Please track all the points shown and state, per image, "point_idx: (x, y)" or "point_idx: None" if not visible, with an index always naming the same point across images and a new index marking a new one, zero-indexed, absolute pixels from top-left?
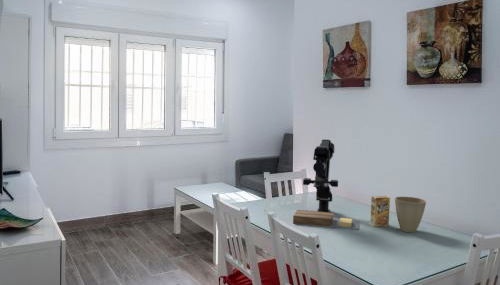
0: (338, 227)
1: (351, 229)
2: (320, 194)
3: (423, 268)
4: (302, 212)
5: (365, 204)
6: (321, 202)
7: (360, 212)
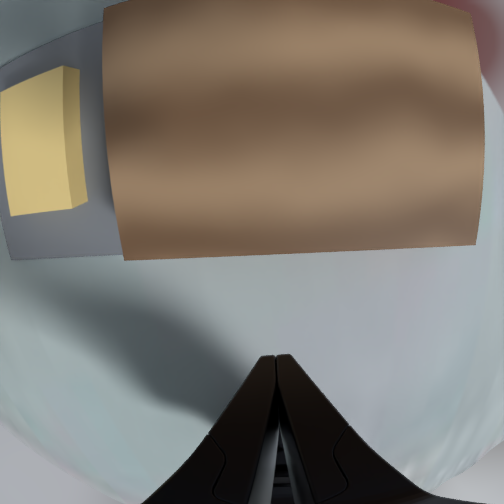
0: (82, 29)
1: (19, 59)
2: (266, 396)
3: None
4: (434, 149)
5: (126, 497)
6: (280, 457)
7: (85, 427)
